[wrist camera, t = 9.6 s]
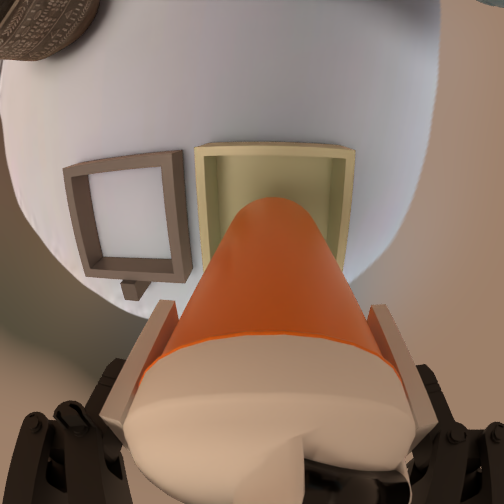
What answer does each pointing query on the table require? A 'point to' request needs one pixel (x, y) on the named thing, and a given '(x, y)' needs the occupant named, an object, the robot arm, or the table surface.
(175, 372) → the shaker bottle
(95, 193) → the table surface
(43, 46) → the planter
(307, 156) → the sage holder
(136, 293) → the collar
